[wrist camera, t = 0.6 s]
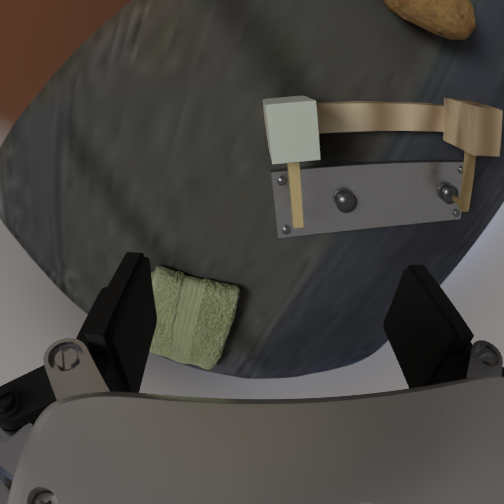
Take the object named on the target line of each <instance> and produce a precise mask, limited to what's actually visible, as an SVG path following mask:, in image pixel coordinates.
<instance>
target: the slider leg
mask: <svg viewBox="0 0 504 504" xmlns="http://www.w3.org/2000/svg"><path fill="white" fill-rule="evenodd" d="M263 106H264V114H265V122H266V130H267V139H268V147H269V152H270V156H271V160H272V164H280V163H287V166H288V176H289V187H290V199H291V213H292V224H293V228H302V227H304V225H303V209H302V194H301V180H300V167H299V162H300V161H312V160H320V145H319V131H318V118H317V106H316V101H315V100H313V99H311V98H308V97H306V96H293V97H281V98H270V99H263Z"/></svg>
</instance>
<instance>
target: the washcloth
mask: <svg viewBox="0 0 504 504" xmlns="http://www.w3.org/2000/svg"><path fill="white" fill-rule="evenodd" d="M151 278H152V285H153V293H154V300H155V306H156V313H157V325H156V329H155V332H154V336H153V339H152V343H151V347H150V352H152V353H154V354H158V355H162V356H165V357H169V358H170V359H172V360H175V361H177V362H180V363H183V364H194V365H198V366H200V367H202V368H204V369H211V368H212V367H215V364H217V361H218V359H220V358H221V356H222V354H223V348H224V347H225V342H226V339H227V336H228V334H229V332H230V328H231V325H232V323H233V320H234V319H235V313H236V309H237V304H238V302H237V301H238V299H239V291H240V290H239V288H238V286H237V285H230V284H228V283H226V284H225V283H222V282H221V283H220V282H217V281H211V280H210V279H207V278H204V279H199V278H195V277H192V276H187V275H185V274H184V273H183V272H180V271H177V272H176V271H174V270H171V269H169V268H165V267H162V266H157V267H156V271H154V272H152V273H151Z"/></svg>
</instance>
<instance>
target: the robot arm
mask: <svg viewBox="0 0 504 504" xmlns="http://www.w3.org/2000/svg"><path fill="white" fill-rule="evenodd" d="M156 325H157V313H156V306H155V300H154V293H153V285H152V278H151V270H150V262H149V258H148V257H144V254H143V253H135V252H127V253H126V254H125V256H124V258H123V260H122V262H121V263H120V265H119V267H118V269H117V271H116V272H115V274H114V276H113V278H112V280H111V282H110V284H109V285H108V287H104V288H102V290H101V291H100V293H99V295H98V297H97V298H96V300H95V302H94V304H93V306H92V308H91V310H90V312H89V314H88V316H87V318H86V320H85V322H84V324H83V326H82V328H81V330H80V332H79V334H78V336H77V338H76V339H74V338H65V339H61V340H58V341H56V342H54V343H53V344H52V345H50V346H49V347H48V349H47V350H46V352H45V354H44V358H43V360H44V365H43V366H41V367H39V368H37V369H35V370H33V371H31V372H29V373H27V374H25V375H23V376H21V377H19V378H17V379H15V380H13V381H10V382H8V383H6V384H4V385H2V386H0V504H504V368H503V367H502V363H503V361H502V356H501V353H500V352H499V351H498V349H497V348H496V347H495V346H494V345H492V344H491V343H489V342H486V341H481V340H479V341H476V342H475V343H474V344H473V345H472V343H471V342H470V341H471V340H472V338H473V336H474V335H473V334H472V332H471V330H470V329H469V327H468V326H467V324H466V323H465V321H464V320H463V318H462V317H461V315H460V314H459V312H458V311H457V310H456V308H455V307H454V305H453V304H452V302H451V301H450V300H449V298H448V297H447V296H446V294H445V293H444V291H443V290H442V289H441V287H440V286H439V285H438V283H437V282H436V281H435V279H434V278H433V277H432V275H431V274H430V273H429V271H428V270H427V269H426V267H425V266H423V265H409V266H408V268H406V269H405V270H404V271H403V274H402V277H401V280H400V282H399V285H398V288H397V290H396V293H395V295H394V298H393V300H392V303H391V306H390V308H389V310H388V313H387V315H386V318H385V320H384V331H385V333H386V335H387V337H388V339H389V342H390V344H391V346H392V348H393V351H394V353H395V355H396V358H397V360H398V362H399V365H400V367H401V369H402V372H403V374H404V377H405V379H406V381H407V384H408V386H409V389H403V390H396V391H389V392H381V393H372V394H362V395H352V396H340V397H325V398H309V399H308V398H307V399H267V400H266V399H256V400H255V399H218V398H199V397H183V396H170V395H157V394H146V393H139V390H140V385H141V382H142V377H143V374H144V369H145V366H146V362H147V358H148V354H149V351H150V347H151V343H152V339H153V336H154V332H155V329H156Z"/></svg>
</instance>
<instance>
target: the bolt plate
mask: <svg viewBox="0 0 504 504" xmlns="http://www.w3.org/2000/svg"><path fill="white" fill-rule="evenodd" d="M463 164H464V160H402V161H376V162H357V163H342V164H328V165H316V166H304V167H300V180H301V194H302V209H303V225H304V227H302V228H293V224H292V213H291V199H290V187H289V176H288V168H284V169H274V170H271V177H272V186H273V195H274V204H275V214H276V223H277V233H278V238H283V237H292V236H301V235H310V234H320V233H329V232H338V231H348V230H357V229H367V228H377V227H386V226H396V225H406V224H416V223H426V222H436V221H447V220H457V219H461V213H462V211H461V210H459V209H458V205H457V204H456V203H455V202H454V201H452V196H453V195H456V196H457V197H459V198H460V191H461V183H462V174H463Z"/></svg>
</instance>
